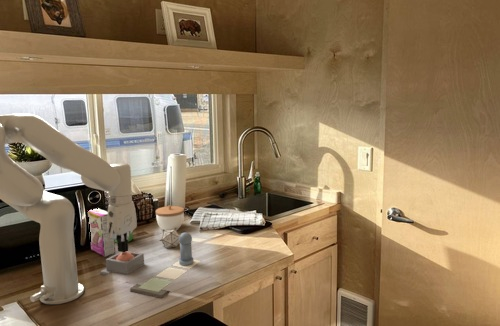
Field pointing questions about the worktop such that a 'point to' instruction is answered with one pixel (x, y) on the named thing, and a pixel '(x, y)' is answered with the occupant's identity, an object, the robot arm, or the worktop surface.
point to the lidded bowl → (170, 217)
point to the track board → (161, 281)
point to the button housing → (123, 264)
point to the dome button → (124, 256)
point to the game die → (170, 238)
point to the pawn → (185, 249)
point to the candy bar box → (100, 233)
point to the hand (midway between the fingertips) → (123, 251)
